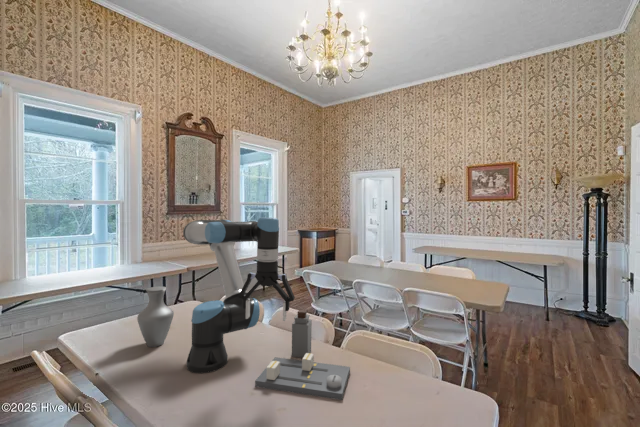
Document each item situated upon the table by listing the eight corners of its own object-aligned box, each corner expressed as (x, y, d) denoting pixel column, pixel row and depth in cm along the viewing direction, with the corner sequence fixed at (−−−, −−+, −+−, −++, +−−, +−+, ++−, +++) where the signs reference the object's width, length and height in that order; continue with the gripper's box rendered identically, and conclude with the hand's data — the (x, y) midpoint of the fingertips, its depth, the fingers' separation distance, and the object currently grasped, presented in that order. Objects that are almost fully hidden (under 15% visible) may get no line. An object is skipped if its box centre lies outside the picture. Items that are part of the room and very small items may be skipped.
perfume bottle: (307, 358, 126) (308, 314, 126) (291, 356, 128) (292, 312, 128) (311, 351, 133) (311, 309, 133) (296, 349, 134) (296, 308, 134)
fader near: (266, 379, 105) (266, 366, 105) (272, 371, 110) (272, 360, 110) (274, 380, 105) (274, 368, 105) (280, 372, 110) (280, 361, 110)
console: (255, 386, 105) (255, 374, 105) (275, 362, 122) (275, 351, 122) (342, 400, 98) (342, 387, 98) (350, 372, 115) (350, 361, 115)
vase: (129, 347, 134) (129, 290, 134) (157, 335, 147) (158, 283, 147) (153, 353, 129) (153, 293, 129) (180, 340, 142) (181, 286, 142)
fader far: (302, 370, 112) (302, 358, 112) (305, 363, 117) (306, 352, 117) (309, 371, 111) (310, 359, 111) (313, 364, 116) (313, 353, 116)
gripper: (230, 260, 108) (228, 320, 109) (300, 263, 106) (298, 324, 107) (237, 257, 116) (236, 313, 116) (303, 259, 114) (301, 316, 114)
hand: (266, 318), depth 111 cm, fingers open, 13 cm apart
